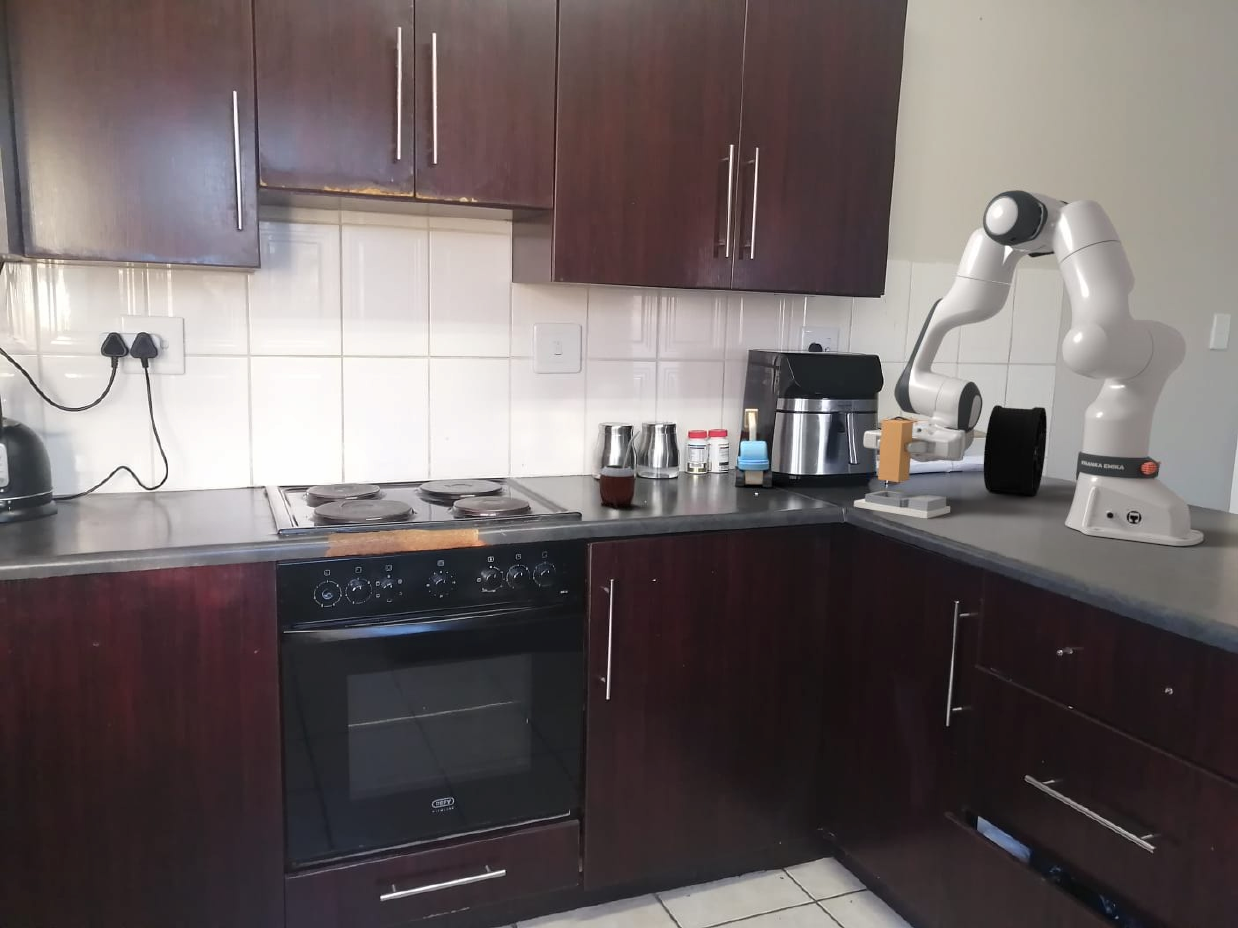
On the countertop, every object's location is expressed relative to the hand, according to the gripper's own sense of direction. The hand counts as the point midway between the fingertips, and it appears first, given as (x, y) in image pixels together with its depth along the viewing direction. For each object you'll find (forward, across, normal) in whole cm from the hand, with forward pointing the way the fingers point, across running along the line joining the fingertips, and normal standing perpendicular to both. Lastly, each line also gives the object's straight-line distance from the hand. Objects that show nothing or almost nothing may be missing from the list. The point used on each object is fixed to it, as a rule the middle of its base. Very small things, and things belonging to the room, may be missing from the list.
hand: (893, 446), depth 189 cm
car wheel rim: (-42, +8, +13) cm, 45 cm away
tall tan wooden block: (-1, 0, +7) cm, 7 cm away
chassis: (-1, +2, +13) cm, 13 cm away
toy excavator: (-4, -38, +14) cm, 40 cm away
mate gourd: (+42, -37, +13) cm, 57 cm away
